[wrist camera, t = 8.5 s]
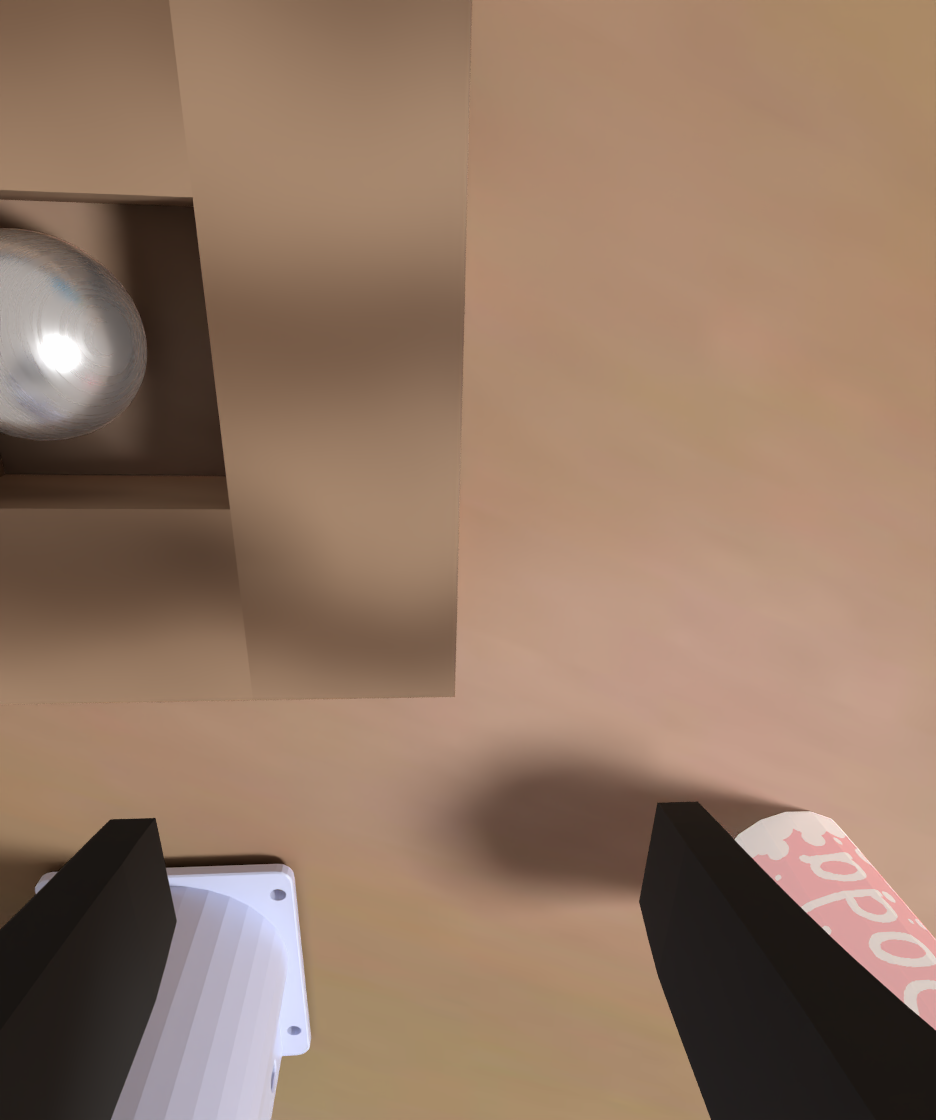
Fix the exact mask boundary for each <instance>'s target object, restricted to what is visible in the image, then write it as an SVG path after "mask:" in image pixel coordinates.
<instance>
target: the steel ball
mask: <svg viewBox="0 0 936 1120" xmlns="http://www.w3.org/2000/svg"><path fill="white" fill-rule="evenodd" d="M146 364H147V342H146V335H145V331H144V327H143V323H142V320H141V318H140V315H139V312H138V310H137V308H136V306H135V304H134V302H133V300H132V299H131V297H130V295H129V294H128V292H127V291H126V290H125V288H124V287H123V285H122V284H121V283H120V282H119V281H118V280H117V278H116V277H115V276H114V275H113V274H112V273H111V272H110V271H109V270H108V269H107V268H106V267H105V266H104V265H103V264H102V263H100V262H99V261H97V260H96V259H95V258H93V257H92V256H91V255H89V254H88V253H86V252H85V251H83V250H82V249H80V248H78V247H76V246H75V245H73V244H70V243H68V242H66V241H64V240H61V239H59V238H57V237H54V236H51V235H48V234H44V233H41V232H36V231H31V230H25V229H19V228H0V433H3V434H7V435H10V436H14V437H18V438H24V439H31V440H43V441H52V440H64V439H71V438H75V437H79V436H82V435H86V434H89V433H91V432H94V431H96V430H98V429H100V428H102V427H104V426H105V425H107V424H109V423H110V422H112V421H113V420H114V419H116V418H117V417H118V416H119V415H120V414H121V413H122V412H123V411H124V410H125V409H126V408H127V407H128V406H129V405H130V403H131V402H132V400H133V399H134V397H135V396H136V394H137V392H138V390H139V388H140V386H141V383H142V381H143V377H144V374H145V370H146Z"/></svg>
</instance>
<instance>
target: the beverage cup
mask: <svg viewBox="0 0 936 1120" xmlns="http://www.w3.org/2000/svg"><path fill="white" fill-rule="evenodd" d="M734 840H735V841H736V842H737V843H738V844H739V845H740V846H741V847H742V848H743V849H744V850H745V851H746V852H747V853H748V854H749V855H750V856H751V857H752V858H753V859H754V860H755V861H756V862H757V864H758V865H759V866H760V867H761V868H762V869H763V870H764V871H765V872H766V873H767V874H768V875H769V876H770V877H771V878H772V879H773V880H774V881H775V882H776V883H777V884H778V885H779V886H780V887H781V888H782V889H783V890H784V891H785V892H786V893H787V894H788V895H789V896H790V897H791V898H792V899H793V900H794V901H795V902H796V903H797V904H798V905H799V906H800V907H801V908H802V909H803V910H804V911H805V912H806V913H807V914H808V915H809V916H810V917H811V918H812V919H813V920H814V921H815V922H817V923H818V924H819V925H820V926H821V927H822V928H823V929H824V930H825V931H826V932H827V933H828V934H829V935H830V936H831V937H832V938H833V939H834V940H835V941H836V942H837V943H838V944H839V945H840V946H841V947H843V948H844V949H845V950H846V951H847V952H848V953H849V954H850V955H851V956H852V957H853V958H854V959H855V960H856V961H858V962H859V963H860V964H861V965H862V966H863V967H864V968H865V969H867V970H868V971H869V972H870V973H871V974H872V975H873V976H874V977H875V978H877V979H878V980H879V981H880V982H881V983H882V984H883V985H884V986H885V987H887V988H888V989H889V990H890V991H891V992H892V993H893V994H894V995H895V996H897V997H898V998H899V999H900V1000H901V1001H902V1002H903V1003H904V1004H906V1005H907V1006H908V1007H909V1008H910V1009H911V1010H913V1011H914V1012H915V1013H916V1014H917V1015H918V1016H920V1017H921V1018H922V1019H923V1020H924V1021H926V1022H927V1023H928V1024H929V1025H930V1026H931V1027H933V1028H934V1029H935V1030H936V939H935V938H934V937H933V935H932V934H931V933H930V932H929V931H928V930H927V928H926V927H925V926H924V925H923V924H922V923H921V921H920V920H919V919H918V918H917V917H916V916H915V914H914V913H913V912H912V911H911V910H910V909H909V907H908V906H907V905H906V904H905V903H904V902H903V900H902V899H901V898H900V897H899V896H898V895H897V893H896V892H895V891H894V890H893V889H892V888H891V886H890V885H889V884H888V883H887V882H886V881H885V879H884V878H883V877H882V876H881V875H880V874H879V872H878V871H877V870H876V869H875V868H874V867H873V865H872V864H871V863H870V862H869V861H868V860H867V858H866V857H865V856H864V855H863V854H862V852H861V851H860V850H859V849H858V848H857V847H856V845H855V844H854V843H853V842H852V841H851V840H850V838H849V837H848V836H847V835H846V834H845V833H844V832H843V830H842V829H841V828H840V827H839V826H838V825H837V824H836V823H835V822H834V821H833V820H832V819H831V818H829V817H826V816H823V815H820V814H817V813H814V812H811V811H802V812H784V813H781V814H777V815H774V816H771V817H768V818H765V819H762V820H759V821H758V822H756V823H755V824H753V825H752V826H750V827H749V828H747V829H746V830H744V831H743V832H741V833H740V834H738V836H737V837H736V838H735V839H734Z"/></svg>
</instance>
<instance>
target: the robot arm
mask: <svg viewBox="0 0 936 1120" xmlns="http://www.w3.org/2000/svg"><path fill="white" fill-rule="evenodd" d="M276 889H280V890H276ZM35 893H36V895H35V896H34V897H33V898H32V899H31V900H30V901H29V902H28V903H27V904H26V905H25V906H24V907H23V908H22V909H21V910H20V911H19V912H18V913H17V914H16V915H15V916H14V917H13V918H12V919H11V920H10V921H9V922H7V923H6V924H5V925H4V926H3V927H2V928H1V929H0V1120H271V1116H272V1110H273V1104H274V1098H275V1092H276V1086H277V1080H278V1075H279V1069H280V1063H281V1057H282V1056H289V1055H300V1054H303V1053H305V1052H306V1051H307V1050H308V1049H309V1047H310V1040H311V1033H310V1023H309V1013H308V1004H307V994H306V984H305V975H304V965H303V956H302V946H301V936H300V927H299V917H298V907H297V898H296V888H295V878H294V873H293V870H292V869H291V868H290V867H288V866H286V865H284V864H256V865H229V866H201V867H173V868H166V866H165V861H164V857H163V852H162V847H161V842H160V837H159V833H158V828H157V823H156V818H146V819H113V820H110V821H109V822H108V823H106V824H105V825H104V826H103V827H102V828H101V829H100V830H99V831H98V832H97V833H96V834H95V835H94V836H93V837H92V838H91V839H90V840H89V841H88V842H87V843H86V844H85V845H84V846H83V847H82V848H81V849H80V850H79V851H78V852H77V853H76V854H75V855H74V856H73V857H72V858H71V859H70V860H69V861H68V862H67V863H66V864H65V865H64V866H63V867H62V868H61V869H60V870H59V871H58V872H50V873H46V874H44V875H43V876H42V877H41V878H40V880H39V882H38V883H37V885H36V887H35ZM639 903H640V907H641V911H642V915H643V919H644V923H645V927H646V931H647V936H648V940H649V944H650V947H651V951H652V955H653V959H654V962H655V966H656V970H657V974H658V977H659V980H660V983H661V985H662V988H663V991H664V994H665V997H666V999H667V1002H668V1005H669V1007H670V1010H671V1013H672V1016H673V1018H674V1021H675V1024H676V1027H677V1029H678V1032H679V1035H680V1037H681V1040H682V1043H683V1046H684V1048H685V1051H686V1054H687V1056H688V1059H689V1062H690V1064H691V1067H692V1070H693V1072H694V1075H695V1078H696V1080H697V1083H698V1086H699V1088H700V1091H701V1094H702V1096H703V1099H704V1102H705V1104H706V1107H707V1110H708V1113H709V1115H710V1118H711V1120H936V1030H935V1029H934V1028H933V1027H931V1026H930V1025H929V1024H928V1023H927V1022H926V1021H924V1020H923V1019H922V1018H921V1017H920V1016H918V1015H917V1014H916V1013H915V1012H914V1011H913V1010H911V1009H910V1008H909V1007H908V1006H907V1005H906V1004H904V1003H903V1002H902V1001H901V1000H900V999H899V998H898V997H897V996H895V995H894V994H893V993H892V992H891V991H890V990H889V989H888V988H887V987H885V986H884V985H883V984H882V983H881V982H880V981H879V980H878V979H877V978H875V977H874V976H873V975H872V974H871V973H870V972H869V971H868V970H867V969H865V968H864V967H863V966H862V965H861V964H860V963H859V962H858V961H856V960H855V959H854V958H853V957H852V956H851V955H850V954H849V953H848V952H847V951H846V950H845V949H844V948H843V947H841V946H840V945H839V944H838V943H837V942H836V941H835V940H834V939H833V938H832V937H831V936H830V935H829V934H828V933H827V932H826V931H825V930H824V929H823V928H822V927H821V926H820V925H819V924H818V923H817V922H815V921H814V920H813V919H812V918H811V917H810V916H809V915H808V914H807V913H806V912H805V911H804V910H803V909H802V908H801V907H800V906H799V905H798V904H797V903H796V902H795V901H794V900H793V899H792V898H791V897H790V896H789V895H788V894H787V893H786V892H785V891H784V890H783V889H782V888H781V887H780V886H779V885H778V884H777V883H776V882H775V881H774V880H773V879H772V878H771V877H770V876H769V875H768V874H767V873H766V872H765V871H764V870H763V869H762V868H761V867H760V866H759V865H758V864H757V862H756V861H755V860H754V859H753V858H752V857H751V856H750V855H749V854H748V853H747V852H746V851H745V850H744V849H743V848H742V847H741V846H740V845H739V844H738V843H737V842H736V841H735V840H734V839H733V838H732V837H731V836H730V835H729V834H728V832H727V831H726V830H725V829H724V828H723V827H722V826H721V825H720V824H719V823H718V822H717V821H716V820H715V819H714V818H713V817H712V816H711V815H710V814H709V813H708V812H707V811H706V810H705V809H704V808H703V807H702V806H701V805H700V804H699V803H698V802H670V803H657V808H656V814H655V819H654V825H653V830H652V835H651V841H650V846H649V852H648V857H647V862H646V868H645V873H644V879H643V884H642V889H641V895H640V900H639Z"/></svg>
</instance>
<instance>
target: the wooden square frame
mask: <svg viewBox="0 0 936 1120" xmlns="http://www.w3.org/2000/svg"><path fill="white" fill-rule="evenodd" d="M471 26H472V0H0V199H4V200H31V201H58V202H85V203H112V204H139V205H166V206H193V207H194V213H195V221H196V230H197V238H198V246H199V254H200V263H201V271H202V279H203V288H204V296H205V304H206V313H207V321H208V329H209V338H210V346H211V354H212V363H213V371H214V379H215V388H216V396H217V404H218V412H219V421H220V429H221V437H222V446H223V454H224V462H225V471H226V476H149V475H10V474H5V472H4V468H3V465H2V461H1V457H0V705H20V704H76V703H132V702H189V701H245V700H301V699H358V698H414V697H455V666H456V626H457V586H458V546H459V506H460V466H461V426H462V386H463V346H464V306H465V266H466V226H467V186H468V146H469V106H470V66H471Z"/></svg>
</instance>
